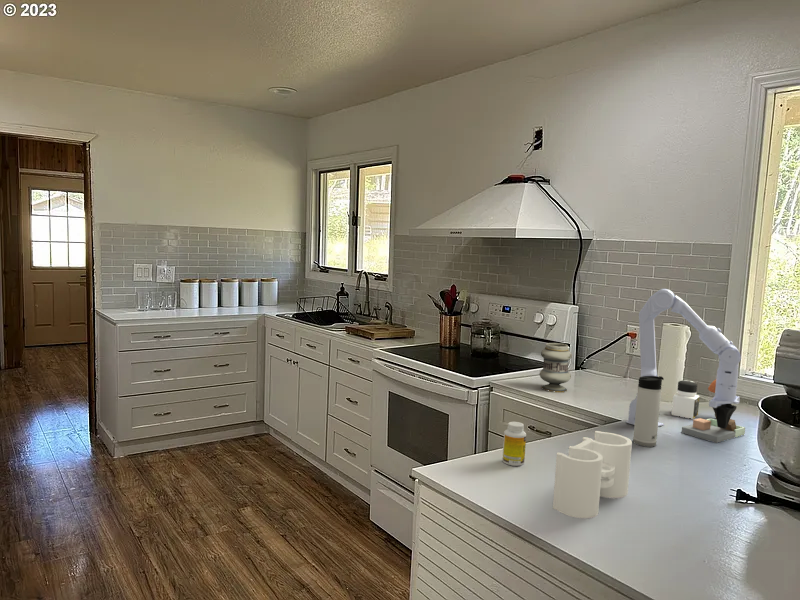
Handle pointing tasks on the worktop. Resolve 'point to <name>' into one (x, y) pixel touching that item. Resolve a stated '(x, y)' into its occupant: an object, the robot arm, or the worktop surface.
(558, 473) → the bracket
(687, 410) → the medicine bottle
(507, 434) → the supplement bottle
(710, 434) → the slate board
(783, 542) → the worktop surface
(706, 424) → the terracotta tile
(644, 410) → the travel mug
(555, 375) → the apothecary jar
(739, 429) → the sage tray
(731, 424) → the walnut tile
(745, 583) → the worktop surface
